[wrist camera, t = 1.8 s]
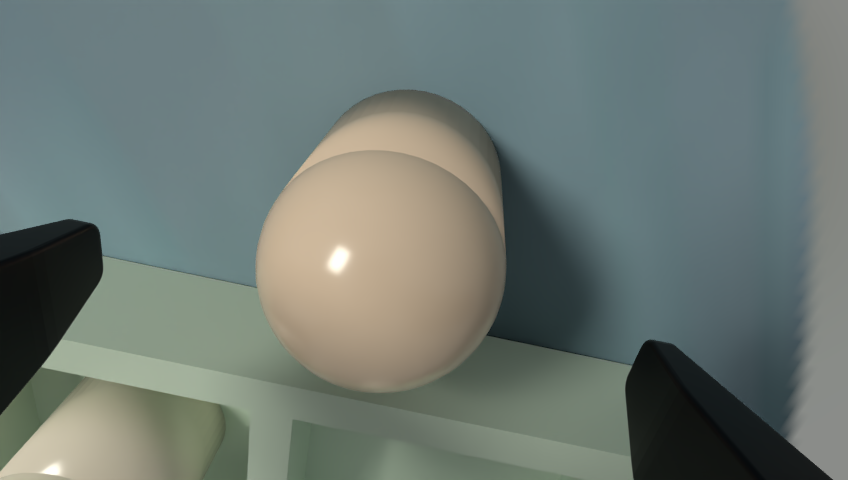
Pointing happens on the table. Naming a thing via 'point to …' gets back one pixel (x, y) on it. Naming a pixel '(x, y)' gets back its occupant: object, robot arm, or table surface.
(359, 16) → the table surface
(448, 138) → the brown egg
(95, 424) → the egg
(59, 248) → the robot arm
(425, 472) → the egg tray
